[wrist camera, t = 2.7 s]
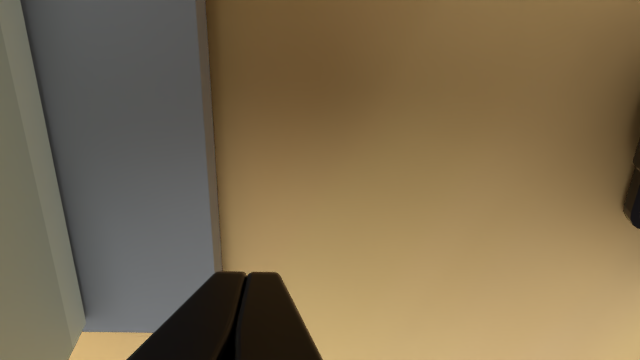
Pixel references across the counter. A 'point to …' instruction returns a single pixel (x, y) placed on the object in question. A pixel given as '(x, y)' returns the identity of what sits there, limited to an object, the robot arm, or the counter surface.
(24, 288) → the panel
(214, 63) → the counter surface
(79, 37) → the board
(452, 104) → the counter surface
